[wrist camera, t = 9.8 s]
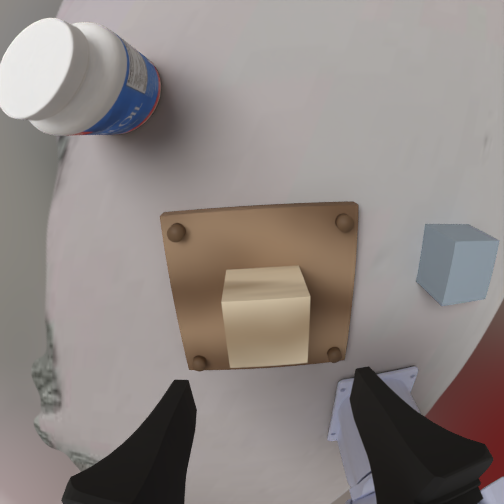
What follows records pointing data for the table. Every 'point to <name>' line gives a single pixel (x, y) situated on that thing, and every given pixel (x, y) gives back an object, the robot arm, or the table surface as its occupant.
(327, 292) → the base plate
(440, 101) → the table surface
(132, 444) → the robot arm
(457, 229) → the slate block
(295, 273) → the birch block
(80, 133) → the pill bottle
